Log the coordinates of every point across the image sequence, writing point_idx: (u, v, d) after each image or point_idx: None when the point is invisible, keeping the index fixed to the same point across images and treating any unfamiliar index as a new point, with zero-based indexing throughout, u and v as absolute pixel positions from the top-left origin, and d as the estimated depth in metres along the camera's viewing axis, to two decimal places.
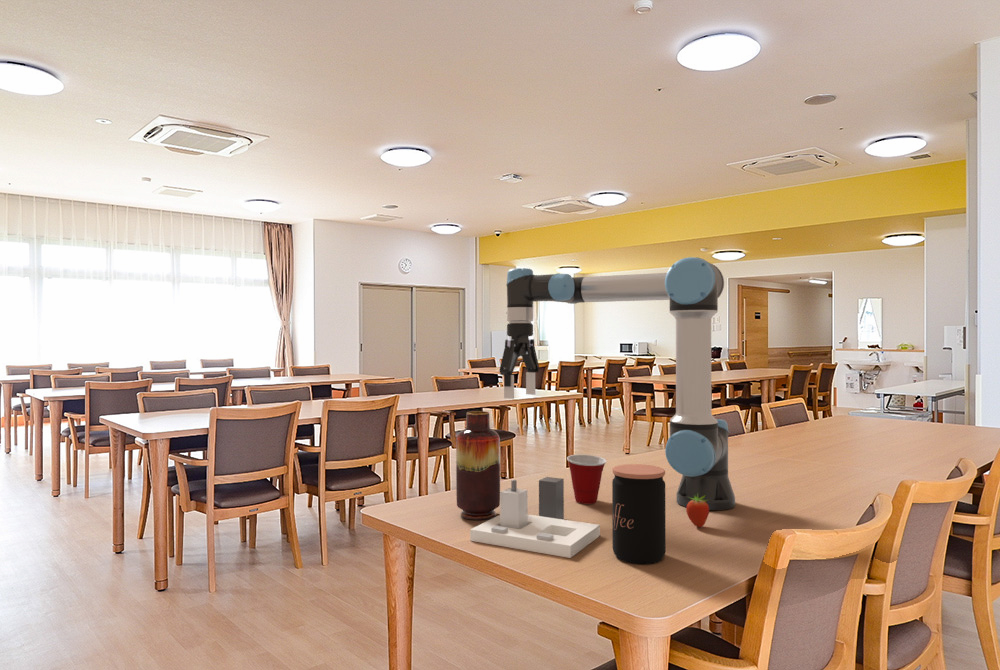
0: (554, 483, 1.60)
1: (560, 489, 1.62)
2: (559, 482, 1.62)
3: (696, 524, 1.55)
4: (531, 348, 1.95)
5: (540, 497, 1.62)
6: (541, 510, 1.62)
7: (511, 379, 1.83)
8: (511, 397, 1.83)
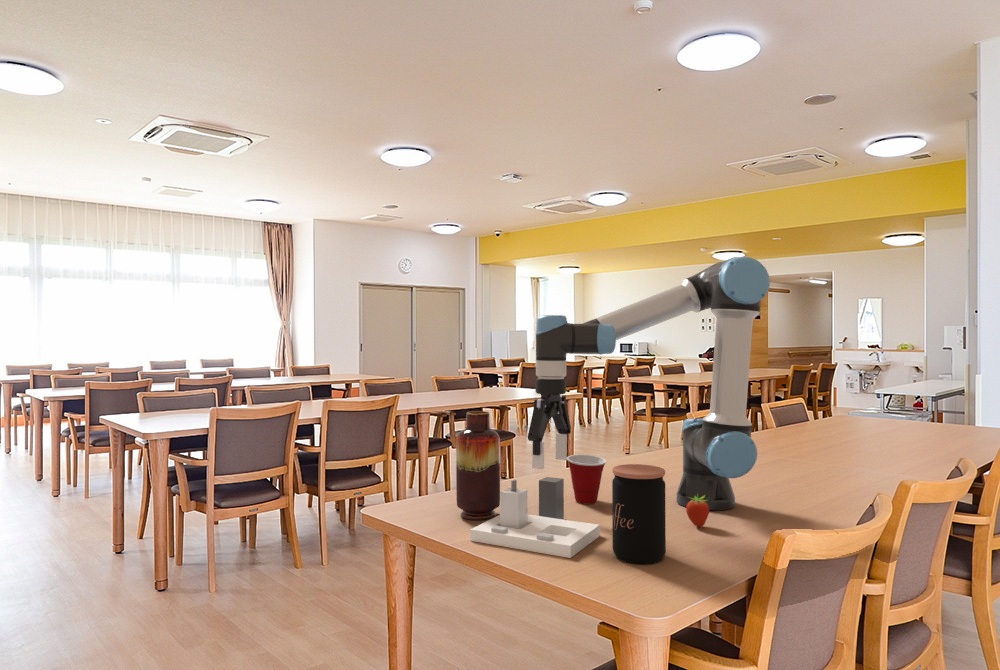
0: (554, 483, 1.60)
1: (560, 489, 1.62)
2: (559, 482, 1.62)
3: (696, 524, 1.55)
4: (562, 406, 1.68)
5: (540, 497, 1.62)
6: (541, 510, 1.62)
7: (541, 446, 1.56)
8: (541, 468, 1.56)
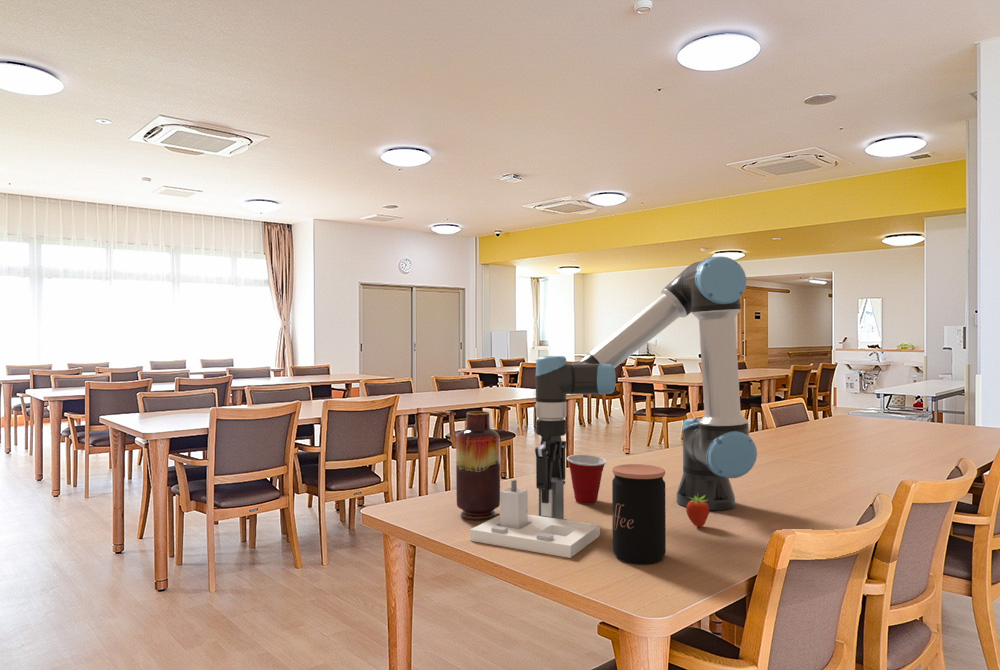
0: (554, 483, 1.60)
1: (560, 489, 1.62)
2: (559, 482, 1.62)
3: (696, 524, 1.55)
4: (561, 451, 1.67)
5: (540, 497, 1.62)
6: None
7: (549, 494, 1.60)
8: (549, 515, 1.60)
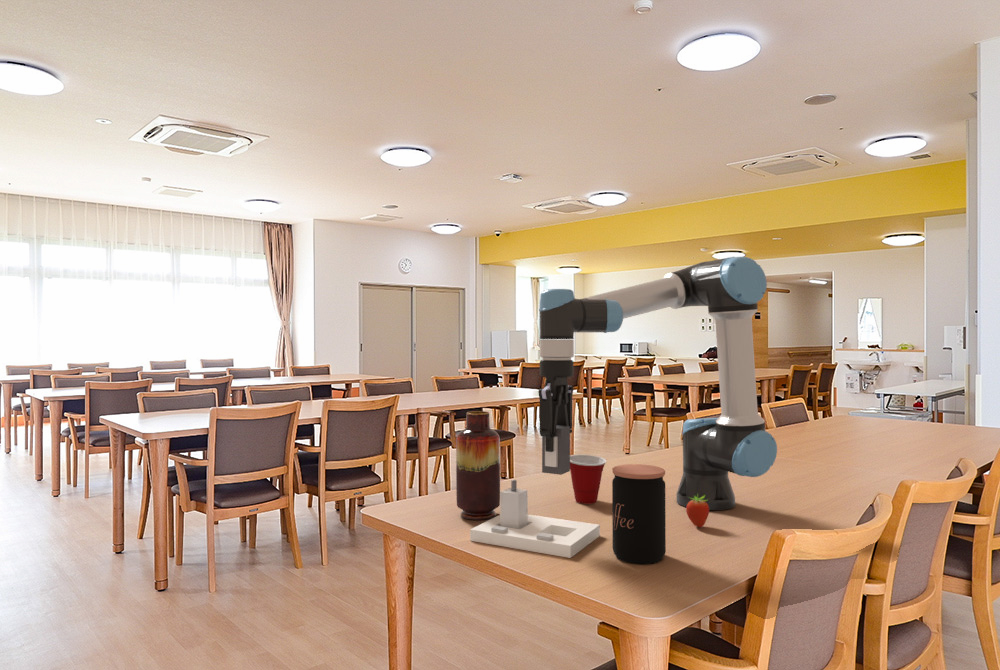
0: (559, 429, 1.43)
1: (566, 437, 1.45)
2: (565, 429, 1.45)
3: (696, 524, 1.55)
4: (568, 396, 1.50)
5: (543, 446, 1.45)
6: None
7: (554, 442, 1.43)
8: (554, 465, 1.43)
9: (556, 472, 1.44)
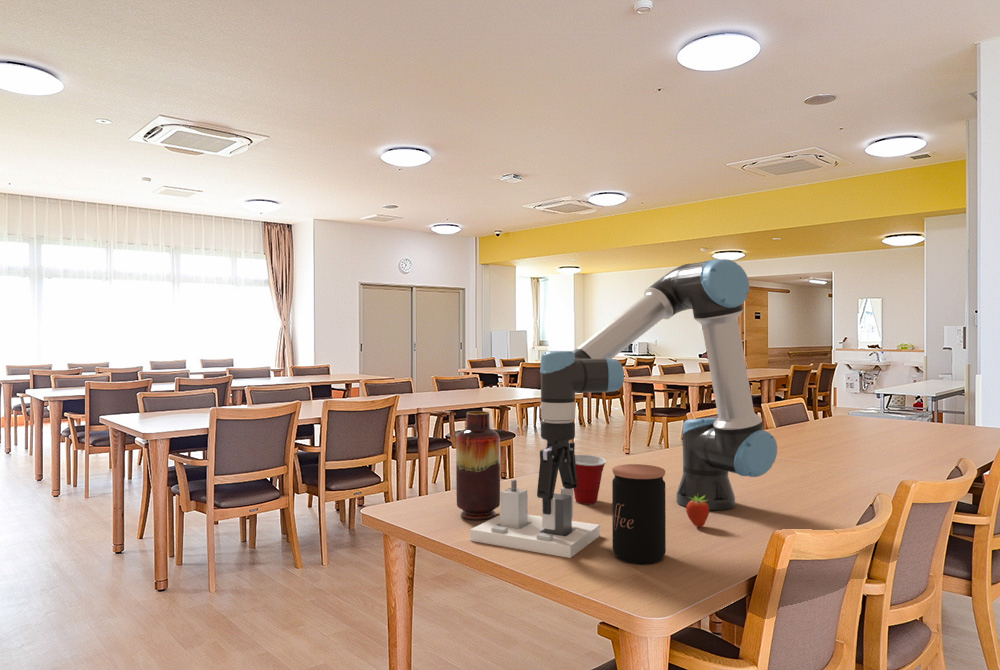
0: (561, 501, 1.43)
1: (568, 508, 1.45)
2: (567, 500, 1.44)
3: (696, 524, 1.55)
4: (570, 454, 1.50)
5: None
6: (547, 531, 1.44)
7: (552, 504, 1.41)
8: (552, 528, 1.41)
9: None
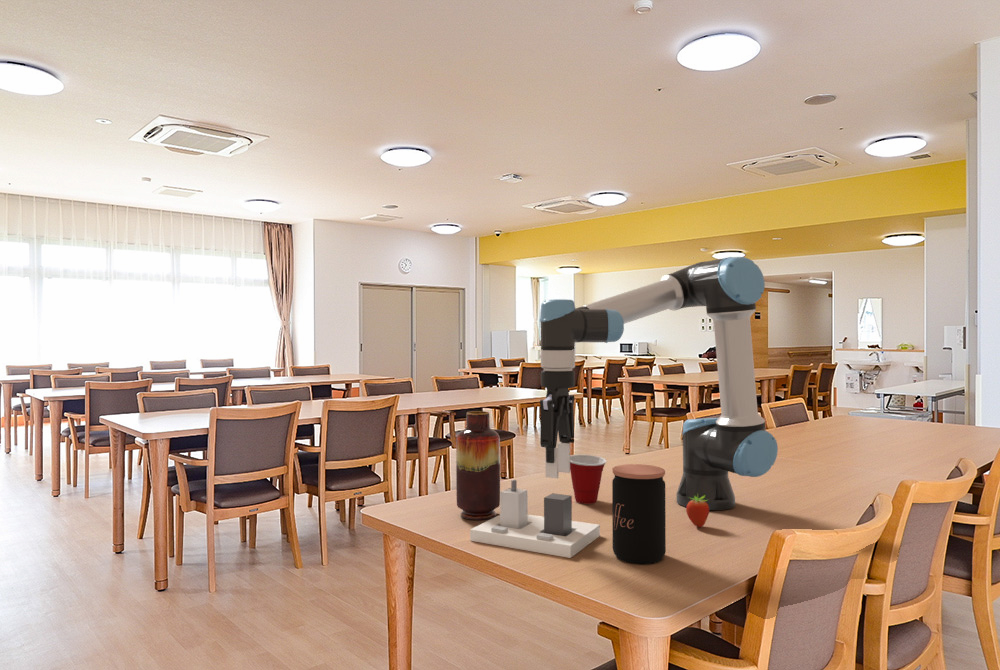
0: (561, 501, 1.43)
1: (568, 508, 1.45)
2: (567, 500, 1.44)
3: (696, 524, 1.55)
4: (569, 406, 1.50)
5: (545, 516, 1.45)
6: (547, 531, 1.44)
7: (555, 453, 1.42)
8: (555, 477, 1.42)
9: None
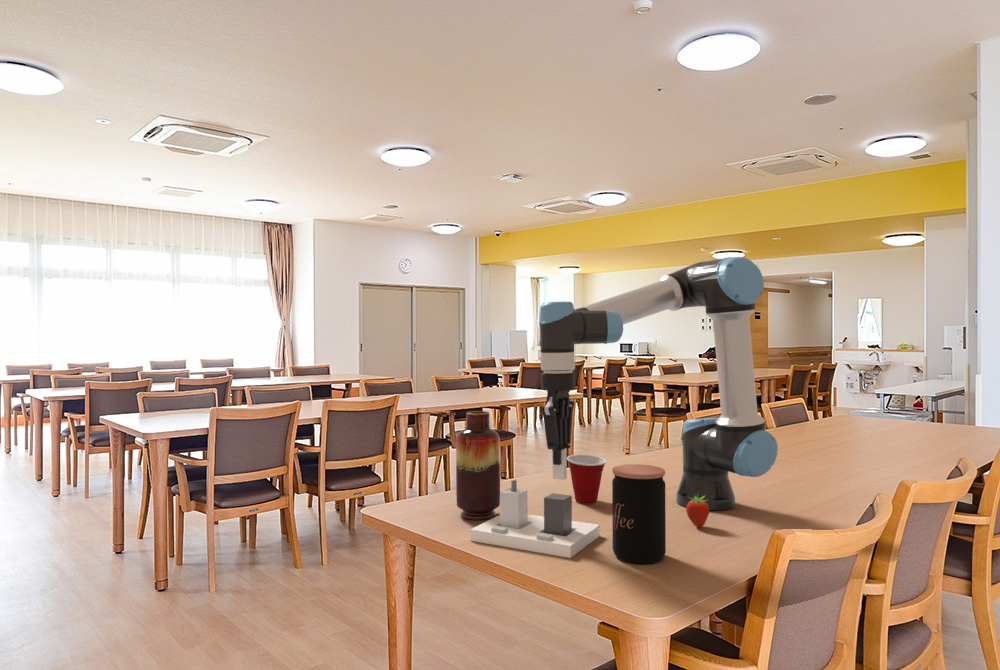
0: (561, 501, 1.43)
1: (568, 508, 1.45)
2: (567, 500, 1.44)
3: (696, 524, 1.55)
4: (568, 410, 1.49)
5: (545, 516, 1.45)
6: (547, 531, 1.44)
7: (562, 455, 1.45)
8: (562, 478, 1.45)
9: None
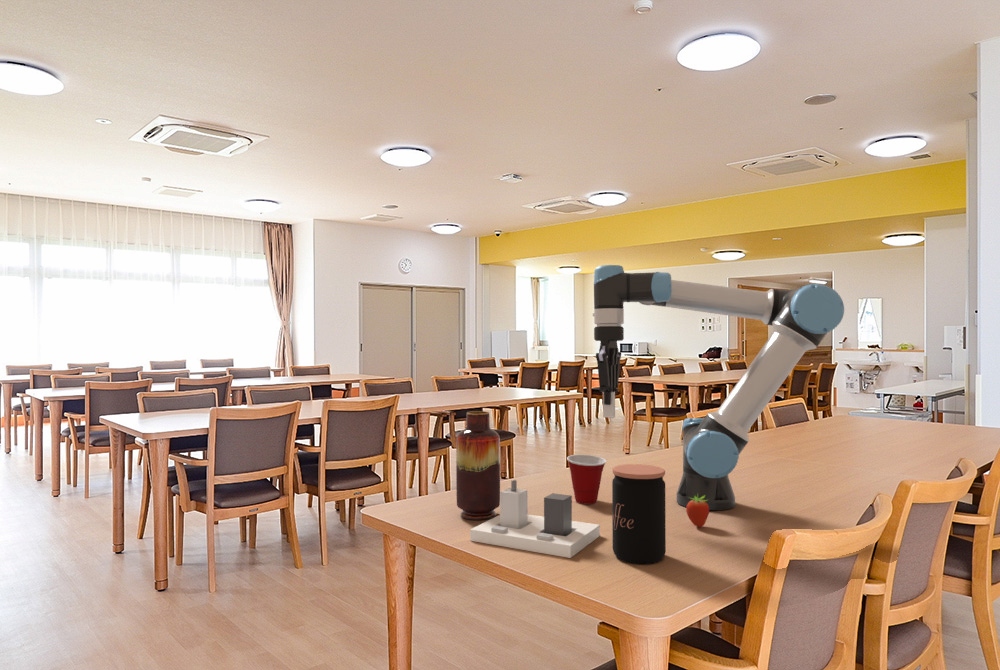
0: (561, 501, 1.43)
1: (568, 508, 1.45)
2: (567, 500, 1.44)
3: (696, 524, 1.55)
4: None
5: (545, 516, 1.45)
6: (547, 531, 1.44)
7: (611, 396, 1.69)
8: (611, 416, 1.69)
9: None
